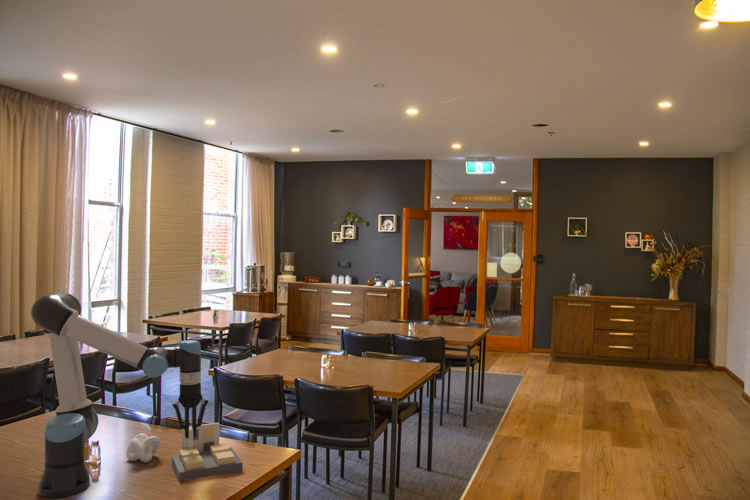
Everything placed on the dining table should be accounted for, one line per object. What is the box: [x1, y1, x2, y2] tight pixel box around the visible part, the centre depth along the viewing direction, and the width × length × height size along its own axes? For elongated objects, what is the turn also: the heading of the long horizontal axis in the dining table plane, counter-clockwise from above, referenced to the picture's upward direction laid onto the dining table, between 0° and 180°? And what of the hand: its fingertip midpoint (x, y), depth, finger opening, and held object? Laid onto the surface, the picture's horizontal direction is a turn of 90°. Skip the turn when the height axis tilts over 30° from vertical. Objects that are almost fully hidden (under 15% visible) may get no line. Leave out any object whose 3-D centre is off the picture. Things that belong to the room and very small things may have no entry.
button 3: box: [210, 443, 230, 457], centre depth 215 cm, size 6×6×3 cm
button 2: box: [183, 456, 204, 470], centre depth 202 cm, size 6×6×3 cm
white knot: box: [126, 432, 161, 463], centre depth 216 cm, size 11×12×9 cm
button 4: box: [215, 451, 235, 465], centre depth 207 cm, size 6×6×3 cm
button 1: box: [179, 448, 199, 462], centre depth 210 cm, size 6×6×3 cm
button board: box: [171, 422, 244, 482], centre depth 210 cm, size 22×22×12 cm
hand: (190, 446), depth 210 cm, fingers closed
